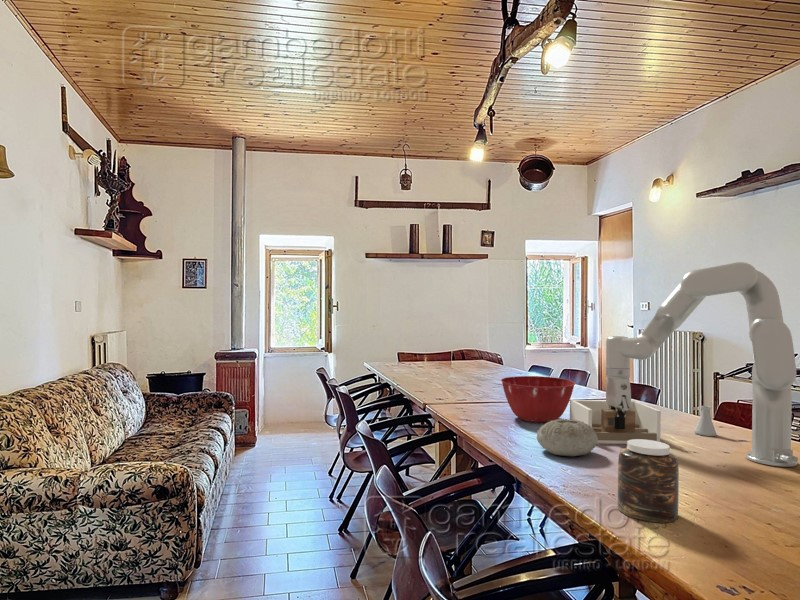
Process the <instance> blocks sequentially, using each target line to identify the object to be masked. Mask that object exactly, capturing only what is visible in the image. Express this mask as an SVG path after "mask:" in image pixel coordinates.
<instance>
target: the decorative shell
mask: <svg viewBox="0 0 800 600" xmlns="http://www.w3.org/2000/svg"><path fill="white" fill-rule="evenodd" d="M536 440H537V443H538V444H539V445H540V447H541V448H542V449H544V450H546V452H548V453H551V454H552V455H556V456H562V457H563V456H565V457H579V456H583V455H587V454H588V453H590V452H592V451H593V450H594V449H595V448H596V446H598V444H599V443H598V438H597V435H596V432H595V431H594V430H593V429H592V428H591V427H590V425H587V424H585V423H584V422H581V421H578V420H570V419H563V418H562V419H561V418H558V419H557V420H554V421H550V422H548V423H543V424H541V426H540V427H539V429H537V430H536Z"/></svg>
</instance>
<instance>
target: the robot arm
mask: <svg viewBox="0 0 800 600" xmlns="http://www.w3.org/2000/svg"><path fill="white" fill-rule="evenodd" d="M735 292H737V293H739V294H741V295H742V296H743V298H744V300H745V306H746V312H747V316H748V317H747V318H748V319H747V320H748V329H749V331H748V334H749V335H748V336H749V339H750V341H751V344H752V351H753V360H754V363H753V365H752V367H751V377H752V378H751V381H752V384H751V385H752V406H751V407H752V413H751V414H752V415H751V416H752V417H751V421H752V423H751V424H752V425H751V451H748V452H746V453H745V458H746V459H747V460H749V461H751V462H755V463H757V464H762V465H766V466H772V467H781V468H782V467H785V468H788V467H796V466H798V461H799V458H798V456H794V454H793V453H794V451H793V449H792V408H793V407H792V404H793V403H792V399H793V398H792V386H793V384H794V383H795V381H796V380H797V366H796V357H795V349H794V342H793V341H794V340H793V336H792V332H791V330H790V327H789V326H788V325H787V324H786V323H785V322H784V317H783V311H782V306H781V305H782V304H781V300H780V296H779V292H778V289H777V287H776V285H775V284H774V282H773V281H772V280H771V279H770V278H769V277H768V276H767V275H766V274H764V273H763V272H761V271H759V270H758V269H756V268H755V267H754V266H753V265H752V264H750V263H748V262H743V261H742V262H741V261H737V262H731V263H728V264H727V263H726V264H721V265H717V266H712V267H704V268H698V269H694V270H689V271H688V272H687V273H685V274H684V275H683V277H682V279H681V281H680V282H679V283H678V284H677V286H675V288H674V289H673V290H672V291H671V293H670V294H669V295H668V296H667V297H666V298H665V300H663V302H662V303H661V304H660V306H659V307H658V308H657V310H656V313H655V314H654V316H653V317H652V319H651V320H650V321H649V323H648V324H647V326H646V327H645V328H644V329H643V331H642V332H640V334H639V335H638V336H635V337H627V336H624V335H623V336H622V335H620V336H619V335H610V336H608V337H607V338H606V340H605V377H606V385H605V401H606V402H607V403H608V406H609V409H616V417H615V429H625V417H626V412H628V408H631V401H632V390H631V389H632V388H631V380H630V378H631V377H630V376H631V359H634V360H640V361H646V360H649V359H650V358H652V356H653V355H655V354H656V352H658V350H659V349H660V348H661V347H662V345H663V344H664V343H665V342H666V341H667V339H669V338H670V336H671V335H672V334H673V333H674V332H675V331H676V330H677V329H678V328H680V327H681V326H682V325H683V323H684V322H685V321H687V319H688V318H689V316H690V315H691V314H692V313H693V312H694V311H695V310H696V309H697V307H698V306H699V305H700V304H701V303H702V302H703V301H704V300H705V298H706V297H710V296H716V295H717V296H718V295H722V294H723V295H724V294H731V293H735ZM620 406H622V408H619V407H620ZM619 410H620V411H619Z"/></svg>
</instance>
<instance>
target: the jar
mask: <svg viewBox="0 0 800 600" xmlns="http://www.w3.org/2000/svg"><path fill="white" fill-rule="evenodd" d="M617 466H618V467H617V509H618V510H619V511H620V513H622V514H623V515H625V516H628V517H629V518H632V519H634V520H635V519H636V520H638V521H639V520H640V521H644V522H648V523H649V522H650V523H656V524H667V523H668V524H669V523H674V522H675V521H677V520H679V498H680V497H679V496H680V495H679V491H680V490H679V485H680V484H679V480H680V478H679V477H680V476H679V473H680V472H679V471H680V470H679V467H680V466H679V459H678V457H677V456H676V455H675V454H674V453H671V446H670V445H669V444H667V443H664V442H661V441H660V442H658V441H653V440H644V439H632V440H628V441H627V444H626V447H624V448H621V449H620V450H619V452H618V463H617Z"/></svg>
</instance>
